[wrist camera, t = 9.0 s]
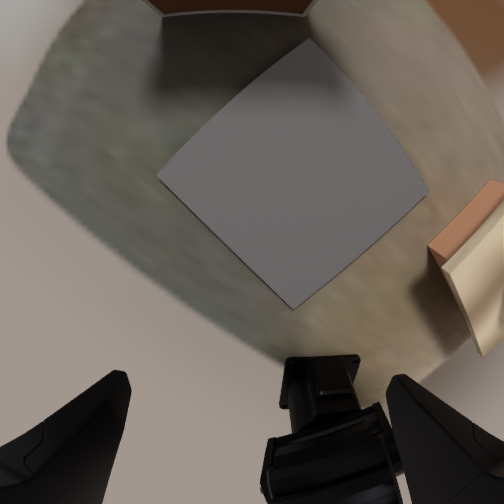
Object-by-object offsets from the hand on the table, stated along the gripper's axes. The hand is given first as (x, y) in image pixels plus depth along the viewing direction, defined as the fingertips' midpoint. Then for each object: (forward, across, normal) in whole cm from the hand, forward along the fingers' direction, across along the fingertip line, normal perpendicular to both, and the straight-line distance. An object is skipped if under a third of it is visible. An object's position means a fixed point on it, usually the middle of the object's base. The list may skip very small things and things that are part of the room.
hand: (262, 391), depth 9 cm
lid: (+8, -19, -1) cm, 20 cm away
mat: (+12, -3, -5) cm, 13 cm away
